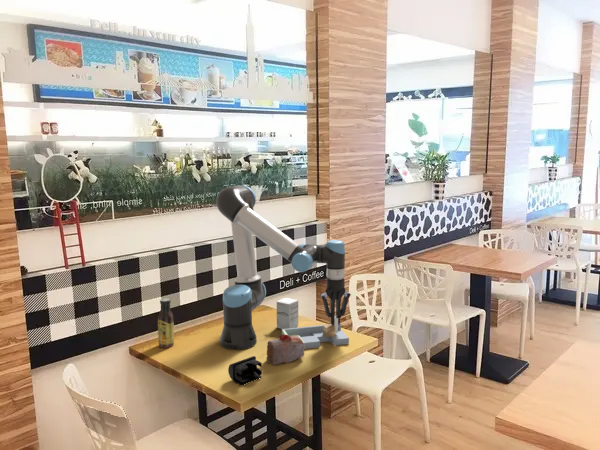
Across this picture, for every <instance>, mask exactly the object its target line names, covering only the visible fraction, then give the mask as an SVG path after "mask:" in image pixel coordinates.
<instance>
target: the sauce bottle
mask: <svg viewBox="0 0 600 450" xmlns="http://www.w3.org/2000/svg"><path fill="white" fill-rule="evenodd" d="M159 303H160V311H159V314H158V318H157V334H158V335H157V337H158V338H157V339H158V341H157V342H158V346H159V347H160V348H164V349H167V348H171V347H173V346H174V342H175V334H174V333H175V331H174V330H175V328H174V327H175V324H174V314H173V312H172V311H171V299H170V298H169V297H165V298H160V300H159Z"/></svg>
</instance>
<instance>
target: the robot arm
mask: <svg viewBox="0 0 600 450" xmlns="http://www.w3.org/2000/svg"><path fill="white" fill-rule="evenodd" d="M256 197H257V196H256V194H255V192H254V190H253V189H252V188H250V187H249V186H248V185H243V184H237V185H234V186H227V187H224V188H222V189H220V191H219V192H218V194H217V196H216V200H215V201H216V202H215V203H216V207H217V210H218V211H219V212H220V213H221V214H222V215H223V216H224V218H226V219H227V220H229V221H230V223H231V231H232V241H233V251H234V258H235V266H236V267H235V268H236V272H237V276H236V278H235V279H234V281H233V282H234V285H232V286H230V285H229V286H228V287H226V288H225V289H224V290H223V293H222V308H223V312H222V313H223V328H222V330H221V335H220V337H219V344H220V346H221V347H223V348H224V349H227V350H234V351H235V350H237V351H238V350H239V351H241V350H245V349H250V348H252V347H254V346H255V345H256V344H257V341H258V340H257V334H256V331H255V329H254V326H253V316H252V315H253V311H254V310H255V309H256V308H257V307H259V306H260V305H261V304H262V303H263V301H264V300H265V298H266V295H267V290H266V286H265V284H264V283H263V282H262V277H261V275H260V274H258V271H257V270H258V269H257V261H256V252H255V245H254V244H255V243H254V236H255V237H256V238H257V239H259V240H260V241H262V242H263V243H264V244H266V245H267V246H268V247H270V248H271V249H273V251H275V252H277V253H278V254H279V255H280V256H282V257H283V258H284V259H286V260H288V262H290V263H291V266H292V268H293V269H294V271H296V272H298V273H305V272H306V271H309V270H310V269H312V267H313V266H314V265H315V264H326V274H325V275H326V289H325V291H324V293H321V294H320V295H319V296H320V298H321V299H322V304H323V307H324V311H325V315H326V316H327V317H328V318H330V324H331V325H334V326H335V333H338V325H339V324H341V318H342V317H344V316H345V314H346V311H347V306H348V301H349V299H350V297H351V295H352V294H351V293H350V292H349V291H347V290H346V288H345V287H346V286H345V284H346V282H345V281H346V279H345V275H346V274H345V271H346V267H345V266H346V265H345V263H346V262H345V261H346V247H345V242H344V241H343V240H339V239H331V240H328V241H326V244H309V243H306V244H304V243H301V244H299V243H298V242H296V240H293V239H292V238H291V237H289V236H288V235H287V234H285V233H284V232H282V231H281V230H280V229H279V228H278V227H276V226H274V225H273V224H271V222H269V221H267V220H266V219H265V218H264V217H262V216H261V215H260V214H258V213H257V212H255V211H254V207H255V205H256V203H257V198H256ZM328 298H329V302H330V303H328ZM342 298H343V299H342Z"/></svg>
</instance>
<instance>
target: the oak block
mask: <svg viewBox="0 0 600 450" xmlns="http://www.w3.org/2000/svg"><path fill="white" fill-rule="evenodd" d="M322 325H323V334H324V335H325V336H326V337H333V336H335V326H334V325H331V323H327V324H322Z"/></svg>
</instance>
